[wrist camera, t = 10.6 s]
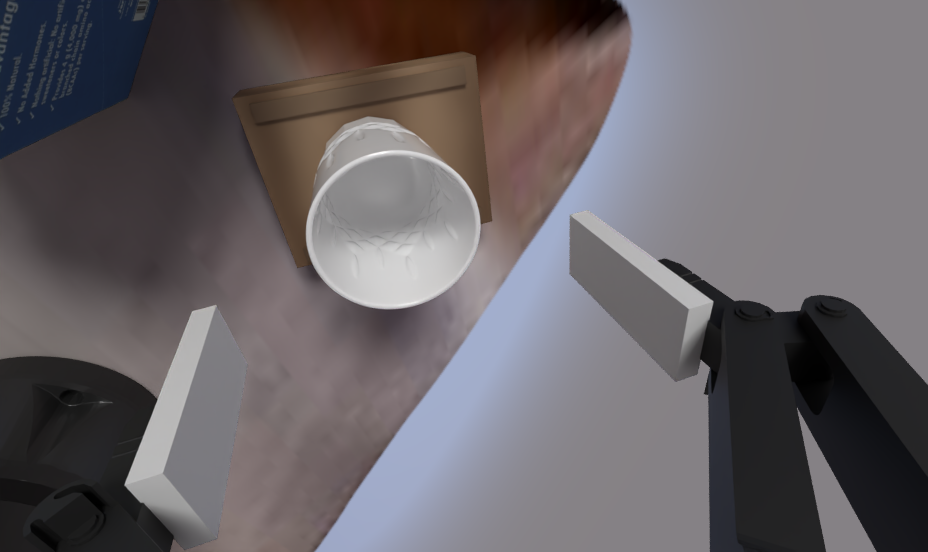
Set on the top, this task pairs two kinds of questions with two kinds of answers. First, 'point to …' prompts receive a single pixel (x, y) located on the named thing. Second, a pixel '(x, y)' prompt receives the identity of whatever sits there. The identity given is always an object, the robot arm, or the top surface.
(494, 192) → the top surface
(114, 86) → the protein box
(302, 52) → the top surface
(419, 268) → the white cup
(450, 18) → the top surface
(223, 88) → the top surface
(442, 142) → the tan flat block
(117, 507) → the robot arm
